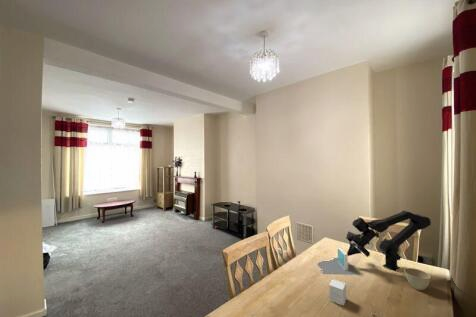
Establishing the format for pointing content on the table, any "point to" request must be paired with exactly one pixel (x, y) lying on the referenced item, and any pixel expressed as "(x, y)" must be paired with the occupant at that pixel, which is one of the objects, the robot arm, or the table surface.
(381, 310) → the table surface
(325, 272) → the mat
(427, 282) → the cream bowl
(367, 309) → the table surface
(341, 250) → the tile
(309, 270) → the table surface
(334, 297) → the product box
